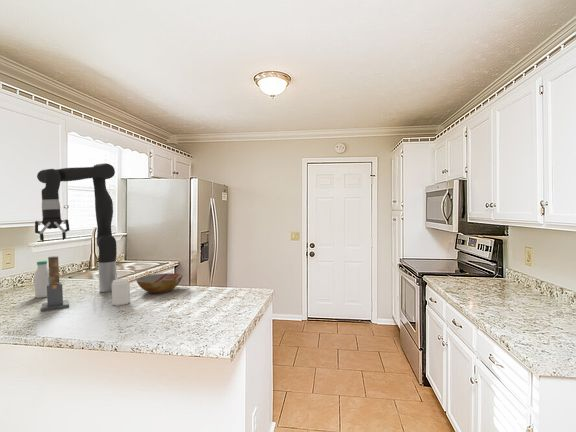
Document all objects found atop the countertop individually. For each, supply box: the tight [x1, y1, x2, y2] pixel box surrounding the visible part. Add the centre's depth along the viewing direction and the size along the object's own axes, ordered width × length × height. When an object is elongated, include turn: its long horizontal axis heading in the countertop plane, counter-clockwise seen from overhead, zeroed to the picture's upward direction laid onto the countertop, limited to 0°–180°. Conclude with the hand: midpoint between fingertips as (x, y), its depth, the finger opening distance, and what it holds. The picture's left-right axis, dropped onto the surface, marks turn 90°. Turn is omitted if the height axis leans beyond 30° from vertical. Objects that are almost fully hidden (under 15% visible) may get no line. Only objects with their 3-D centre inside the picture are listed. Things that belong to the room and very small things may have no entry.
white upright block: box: [111, 278, 131, 307], centre depth 167 cm, size 8×8×12 cm
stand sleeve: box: [40, 281, 70, 312], centre depth 165 cm, size 11×11×12 cm
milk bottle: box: [33, 260, 49, 299], centre depth 187 cm, size 8×8×20 cm
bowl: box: [135, 272, 183, 295], centre depth 191 cm, size 25×25×8 cm
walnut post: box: [47, 255, 60, 285], centre depth 165 cm, size 4×4×17 cm
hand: (53, 240), depth 168 cm, fingers open, 8 cm apart
